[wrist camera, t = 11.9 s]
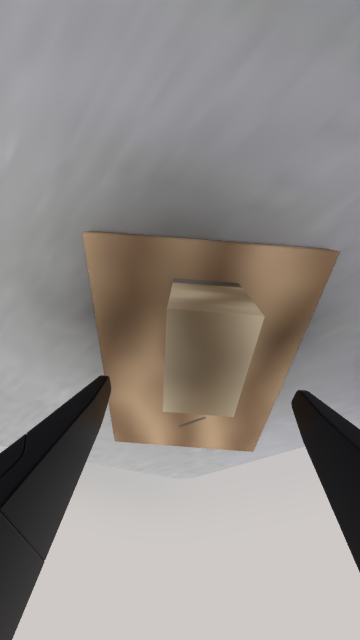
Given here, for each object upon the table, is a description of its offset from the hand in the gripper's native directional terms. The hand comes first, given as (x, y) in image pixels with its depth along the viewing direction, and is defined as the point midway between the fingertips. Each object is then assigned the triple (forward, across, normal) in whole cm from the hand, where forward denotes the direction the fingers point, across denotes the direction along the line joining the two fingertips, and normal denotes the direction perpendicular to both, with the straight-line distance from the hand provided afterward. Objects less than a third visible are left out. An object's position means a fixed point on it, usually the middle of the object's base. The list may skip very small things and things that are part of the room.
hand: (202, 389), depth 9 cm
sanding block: (+6, 0, 0) cm, 6 cm away
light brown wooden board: (+7, 0, +5) cm, 9 cm away
